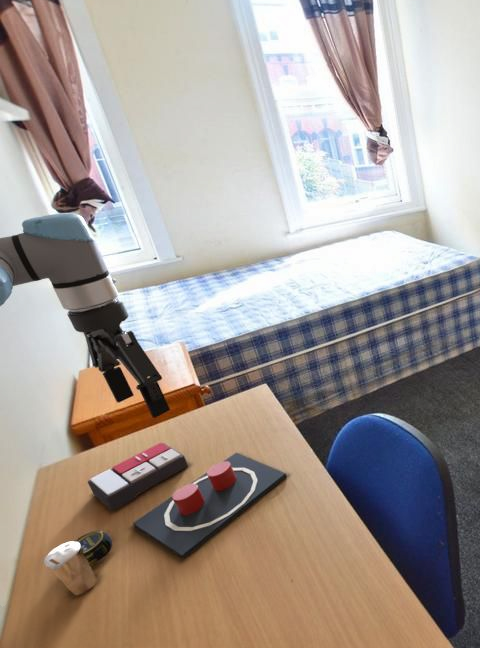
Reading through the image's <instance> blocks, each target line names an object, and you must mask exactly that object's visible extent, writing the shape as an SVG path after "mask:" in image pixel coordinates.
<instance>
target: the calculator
mask: <svg viewBox="0 0 480 648" xmlns="http://www.w3.org/2000/svg"><path fill="white" fill-rule="evenodd" d="M188 466H189V465H188V462H187V459H186V457H185V455H184V454H183V453H181V452H179V451H178V450H176V449H174V448H173V447H171V446H169V445H168V444H166V443H164V442H159V443H157V444H155V445H153V446H151V447H149V448H147V449H145V450H142V451H141V452H139V453H137V454H134V455H133V456H131V457H128V458H127V459H125V460H123V461H121V462H119V463H117V464H115V465H113V466H112V468H110V469H107V470H104V471H103V472H101V473H99V474H97V475H95V476H94V477H92V478H90V479H88V480H87V484H88V486H89V488H90V490H91V492H92V494H93V495H94V496H95V497H96V498H97V499H99V500H100V501H101V502H102V504H104V505H105V506H106V507H107V508H109V510H110V511H112V512H113V511H114V512H115V511H116V510H118V509H120V508H121V507H123V506H125V505H127V504H128V503H130V502H133V501H134V500H135V499H136V497H137V496H138V495H141V493H143V492H145V491H146V490H147V491H148V490H149V489H151V488H152V487H155V486H156V485H158V484H159V483H161V482H164V480H166V479H169V478H170V477H171V476H173V475H176V474H177V473H179V472H181V471H183V470H184V469H186V468H187V467H188Z"/></svg>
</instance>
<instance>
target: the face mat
mask: <svg viewBox="0 0 480 648" xmlns="http://www.w3.org/2000/svg"><path fill="white" fill-rule="evenodd" d="M222 462H229V463H230V464H231V466H232V469H233V471H234V473H235V476H236V481H235V483H234V484H233V485H232V486H230V487H229V488H227V489H224V490H220V491H217V490H214V488H213V486H212V484H211V481H210V479H209V477H208V475H207V472H205V473H204V474H202V475H201V476H199V477H198V478H197V479H195V480H193V481H192V482H191V483H190V484H196V485H197V486H198V488H199V490H200V492H201V494H202V496H203V498H204V500H205V503H204V505H203V506H202V507H201V508H200V509H199V510H198V511H196V512H194V513H192V514H189V515H182V514H180V512H179V510H178V508H177V506H176V504H175V502H174V500H173V498H172V497H173V495H171V496H170V497H169V498H167V499H166V500H164V501H162V502H161V503H160V504H158V505H157V506H155V507H154V508H153V509H151V510H149V511H148V512H147V513H145V514H144V515H142V516H141V517H139V518H138V519H136V520H135V521H134V522H132V525H133V527H134V528H135V529H138V530H139V531H140V532H142V533H144V534H145V535H146V536H148V537H149V538H151V539H152V540H154V541H156V542H157V543H158V544H160V545H162V546H163V547H165V548H166V549H167V550H169V551H170V552H172V553H174V554H176V555H177V557H178V556H179V557H180V558H181V559H183V560H184V559H185V560H186V558H187V557H189V556H190V555H191V554H193V553H194V552H195V551H196V550H197V549H198V548H200V547H201V546H203V544H205V543H206V542H208V540H210V539H211V538H213V536H215V535H216V534H217V533H219V532H220V531H221V530H222V529H224V528H225V527H226V526H227V525H228V524H230V523H231V522H232V521H234V520H235V519H236V518H237V517H239V516H240V515H241V514H242V513H244V512H245V511H246V510H247V509H248V508H250V507H251V506H252V505H254V504H255V503H256V502H257V501H258V500H260V499H261V498H262V497H264V496H265V495H266V494H267V493H269V492H270V491H271V490H272V489H274V488H275V487H276V486H278V485H279V484H280V483H281V482H283V480H285V479H286V478H287V473H286V472H284V471H281V470H279V469H276V468H275V467H271V466H270V465H267V464H264V463H262V462H260V461H258V460H256V459H252V458H250V457H248V456H246V455H243V454H240V453H239V452H234V453H233V454H231V455H230V456H228V457H227V458H226V459H224V460H222Z"/></svg>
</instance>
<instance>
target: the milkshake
mask: <svg viewBox="0 0 480 648" xmlns="http://www.w3.org/2000/svg"><path fill="white" fill-rule="evenodd" d="M43 563H44V565H45V567H46V568H48V569H49V571H51V572H52V573H53V574H54V575H55V576H56V577H57V578H58V579H59V580H60V581H61V582H62V583H63V584H64V586H65V587H66V588H67V589H68V590H69V591H70V592H71V593H72V595H75V596H79V595H82V594H84V593H86V592H88V591H90V590H91V589H92V588H93V587H94V586H95V585H96V583H97V577H96V575H95V573H94V571H93V569H92V566H90V565H89V563H88V561H87V559H86V557H85V555H84V552H83V550H82V548H81V545H80V543H79V542H74V541H67V542H65V543H61V544H60V545H58V546H57V547H55V548H53V549H52V550H51V551H50V552H49V553H48V554H47V555H46V556H45V558H44V562H43Z"/></svg>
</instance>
